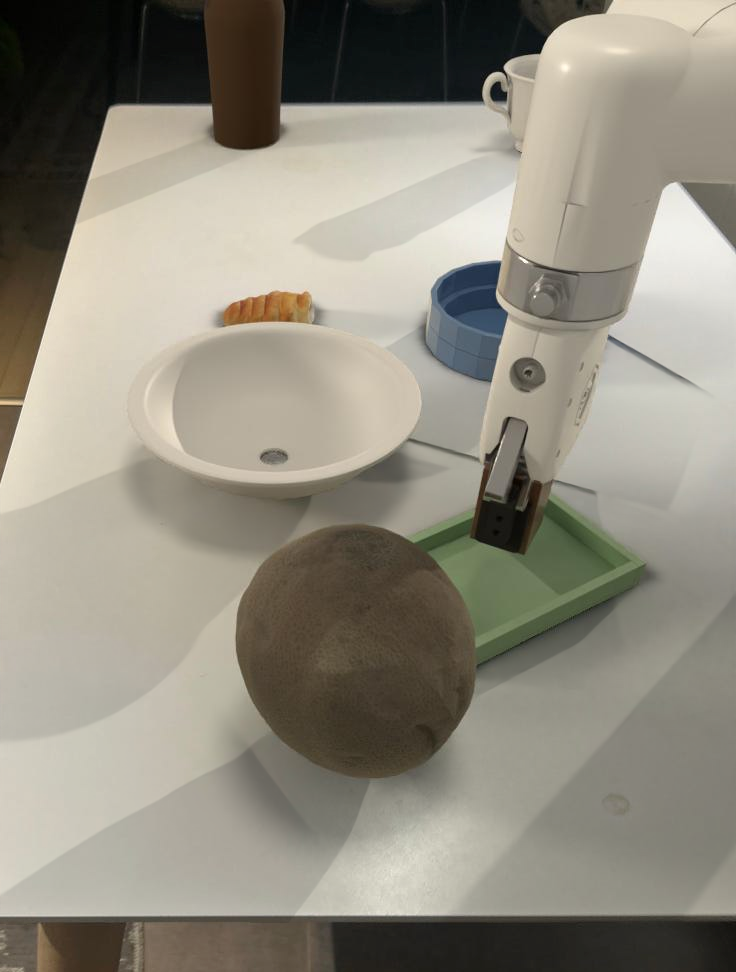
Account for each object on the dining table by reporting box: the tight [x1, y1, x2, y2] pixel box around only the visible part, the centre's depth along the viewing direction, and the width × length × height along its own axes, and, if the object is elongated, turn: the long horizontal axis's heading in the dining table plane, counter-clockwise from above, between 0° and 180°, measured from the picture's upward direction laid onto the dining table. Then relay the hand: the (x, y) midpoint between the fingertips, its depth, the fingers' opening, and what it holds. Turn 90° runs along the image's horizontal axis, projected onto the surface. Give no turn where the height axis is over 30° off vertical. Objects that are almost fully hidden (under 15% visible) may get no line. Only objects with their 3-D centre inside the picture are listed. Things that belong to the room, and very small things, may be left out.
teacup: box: [482, 53, 541, 153], centre depth 128 cm, size 12×15×10 cm
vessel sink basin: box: [126, 322, 423, 500], centre depth 80 cm, size 24×24×7 cm
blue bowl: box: [424, 259, 508, 382], centre depth 94 cm, size 16×16×5 cm
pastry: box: [221, 290, 315, 327], centre depth 97 cm, size 9×7×4 cm
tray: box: [405, 491, 647, 666], centre depth 71 cm, size 18×12×2 cm, turn 121°
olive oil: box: [203, 0, 286, 150], centre depth 127 cm, size 11×11×25 cm
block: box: [470, 456, 554, 555], centre depth 66 cm, size 4×4×6 cm
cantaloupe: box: [234, 523, 477, 780], centre depth 56 cm, size 14×14×15 cm
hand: (508, 523), depth 67 cm, fingers closed on block, 4 cm apart
